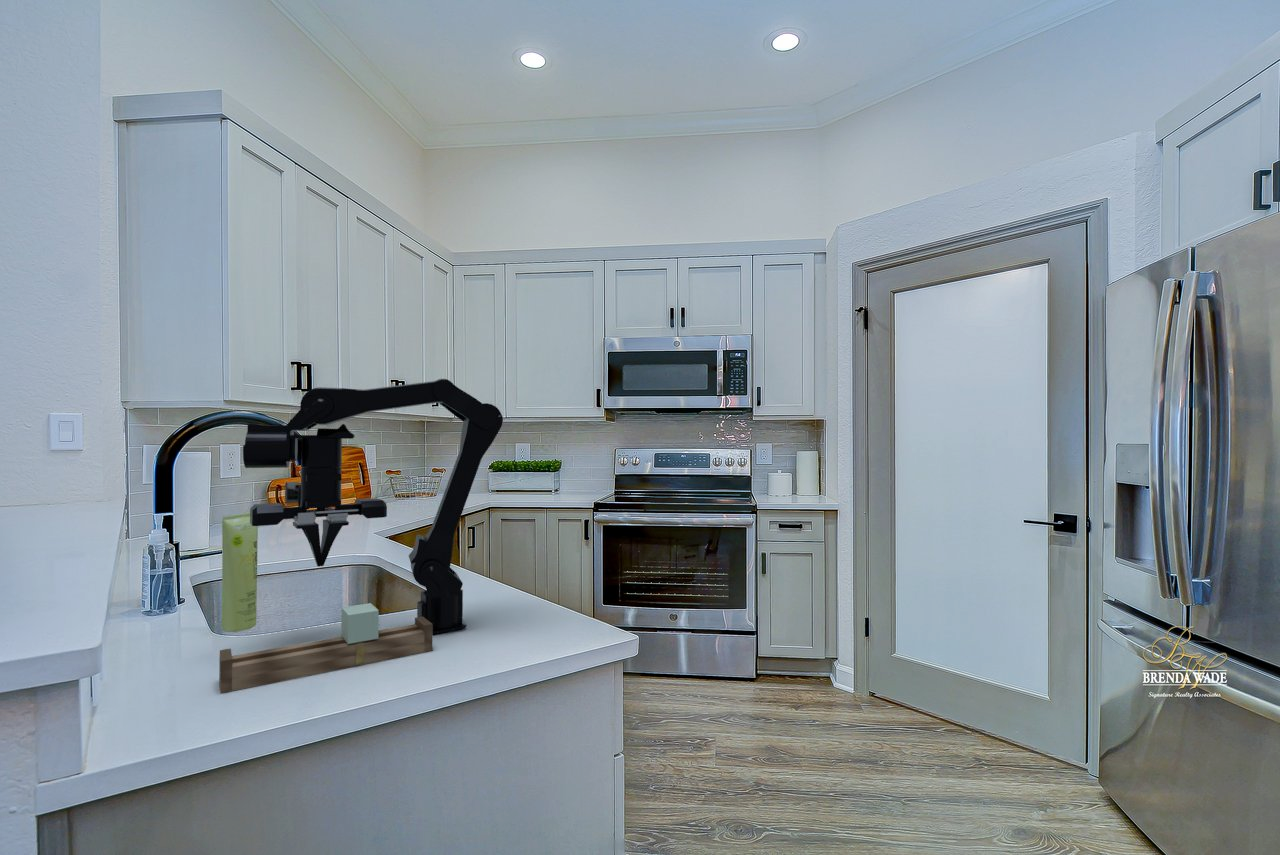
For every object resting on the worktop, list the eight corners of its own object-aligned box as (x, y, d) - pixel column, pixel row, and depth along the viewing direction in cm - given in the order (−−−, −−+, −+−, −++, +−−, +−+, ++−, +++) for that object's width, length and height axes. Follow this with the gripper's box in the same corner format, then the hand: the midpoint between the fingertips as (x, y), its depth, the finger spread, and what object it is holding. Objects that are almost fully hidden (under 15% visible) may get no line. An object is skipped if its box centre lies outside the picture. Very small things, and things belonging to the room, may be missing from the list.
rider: (370, 640, 91) (370, 603, 91) (378, 649, 87) (378, 610, 87) (341, 645, 89) (341, 607, 89) (347, 655, 84) (348, 615, 85)
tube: (256, 630, 101) (258, 513, 102) (220, 635, 98) (222, 515, 99) (256, 622, 106) (258, 510, 106) (221, 626, 103) (223, 512, 104)
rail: (422, 641, 96) (422, 616, 96) (432, 650, 91) (432, 624, 91) (219, 680, 80) (219, 649, 80) (220, 693, 76) (220, 661, 76)
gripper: (372, 464, 108) (371, 552, 108) (248, 467, 97) (246, 564, 96) (388, 466, 99) (387, 562, 99) (253, 469, 88) (251, 577, 88)
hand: (320, 565), depth 96 cm, fingers closed
